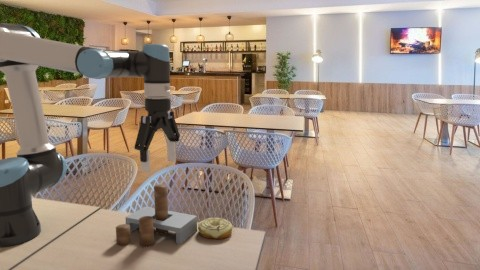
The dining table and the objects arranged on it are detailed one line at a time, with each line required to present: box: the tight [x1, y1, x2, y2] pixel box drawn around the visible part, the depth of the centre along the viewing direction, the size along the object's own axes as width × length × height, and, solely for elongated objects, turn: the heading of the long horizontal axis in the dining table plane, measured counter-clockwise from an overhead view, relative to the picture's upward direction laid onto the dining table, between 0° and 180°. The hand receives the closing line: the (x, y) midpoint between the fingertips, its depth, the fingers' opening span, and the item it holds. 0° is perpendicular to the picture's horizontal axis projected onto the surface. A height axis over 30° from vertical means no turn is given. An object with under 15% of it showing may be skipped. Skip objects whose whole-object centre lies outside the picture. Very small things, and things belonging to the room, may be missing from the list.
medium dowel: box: [138, 216, 155, 248], centre depth 110 cm, size 4×4×8 cm
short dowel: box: [115, 223, 132, 247], centre depth 111 cm, size 4×4×5 cm
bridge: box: [124, 206, 198, 245], centre depth 119 cm, size 20×10×5 cm, turn 67°
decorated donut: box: [197, 217, 234, 240], centre depth 119 cm, size 10×11×4 cm
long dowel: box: [153, 183, 169, 235], centre depth 118 cm, size 4×4×15 cm
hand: (159, 166), depth 116 cm, fingers open, 13 cm apart
